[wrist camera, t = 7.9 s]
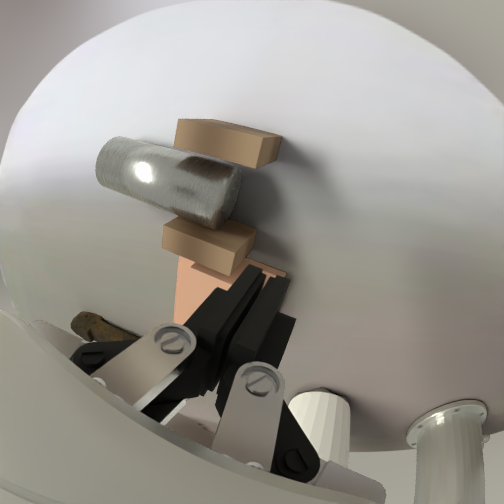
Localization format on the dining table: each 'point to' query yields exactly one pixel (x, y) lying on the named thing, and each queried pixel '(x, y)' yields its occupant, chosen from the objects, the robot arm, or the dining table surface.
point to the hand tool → (97, 329)
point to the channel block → (232, 232)
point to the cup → (324, 423)
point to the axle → (170, 180)
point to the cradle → (206, 284)
